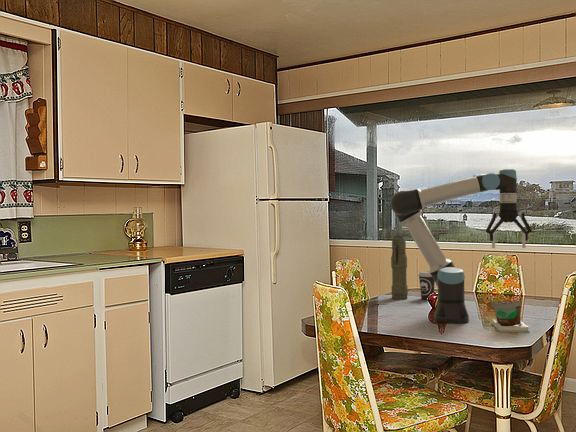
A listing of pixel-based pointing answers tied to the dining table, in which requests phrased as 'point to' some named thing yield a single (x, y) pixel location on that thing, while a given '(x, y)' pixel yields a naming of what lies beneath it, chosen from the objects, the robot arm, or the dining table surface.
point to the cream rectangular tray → (510, 327)
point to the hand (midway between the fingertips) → (508, 248)
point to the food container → (507, 312)
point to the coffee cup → (426, 284)
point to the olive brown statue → (399, 268)
